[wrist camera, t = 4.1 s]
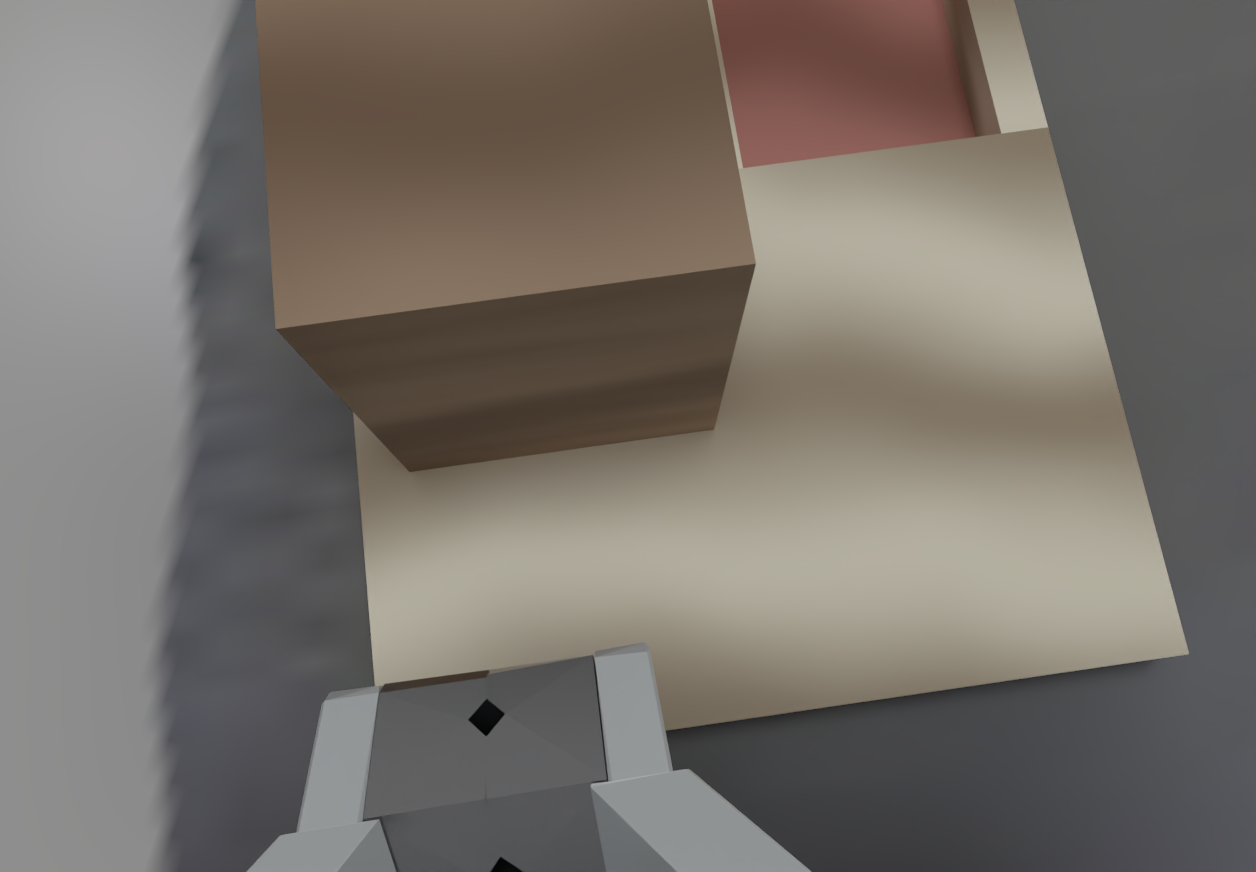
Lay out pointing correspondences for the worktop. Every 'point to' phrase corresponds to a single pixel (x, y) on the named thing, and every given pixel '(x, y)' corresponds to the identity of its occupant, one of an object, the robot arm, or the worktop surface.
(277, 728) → the worktop surface
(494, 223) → the walnut block
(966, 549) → the box
